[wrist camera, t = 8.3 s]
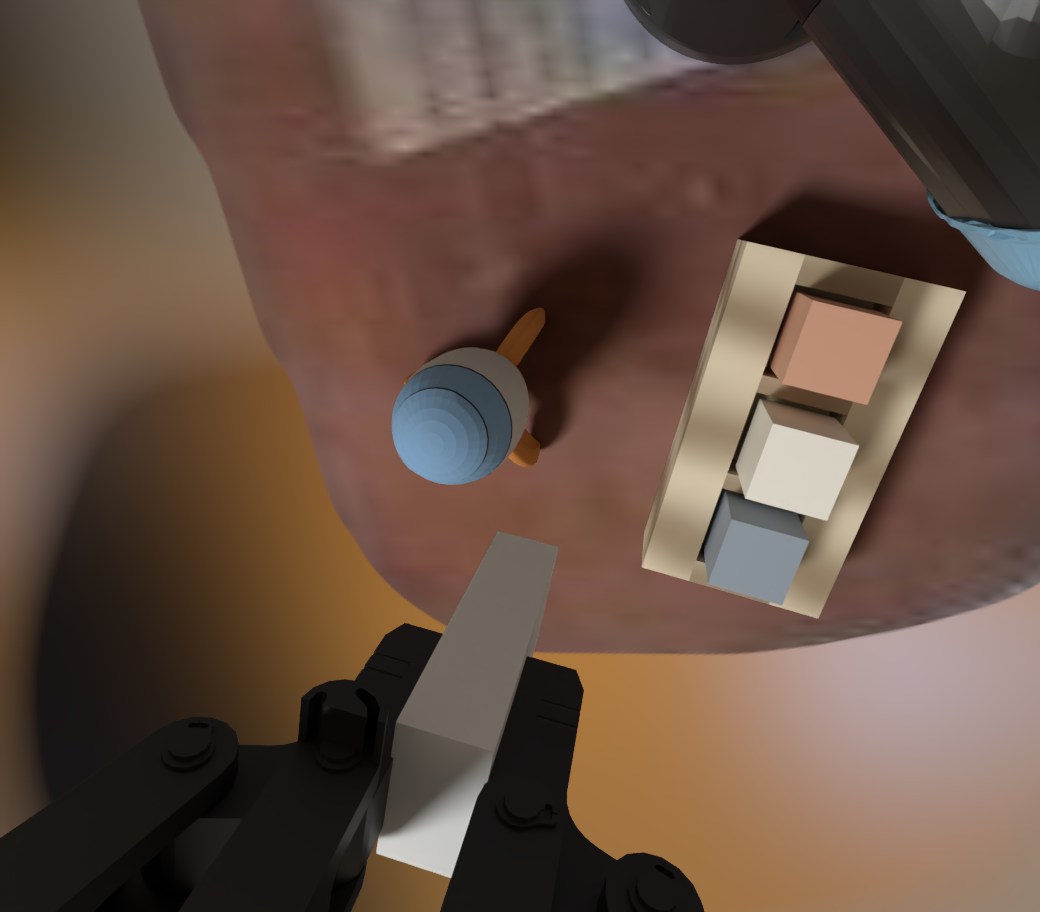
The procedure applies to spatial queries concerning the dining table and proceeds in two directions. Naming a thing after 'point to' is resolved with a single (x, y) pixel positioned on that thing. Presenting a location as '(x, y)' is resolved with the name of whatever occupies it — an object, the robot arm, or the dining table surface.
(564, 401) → the dining table surface
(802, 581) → the beige cube tray
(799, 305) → the key terracotta
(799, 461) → the key ivory
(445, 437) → the toy rocket
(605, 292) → the dining table surface
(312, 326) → the dining table surface
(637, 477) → the dining table surface
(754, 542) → the grey block
